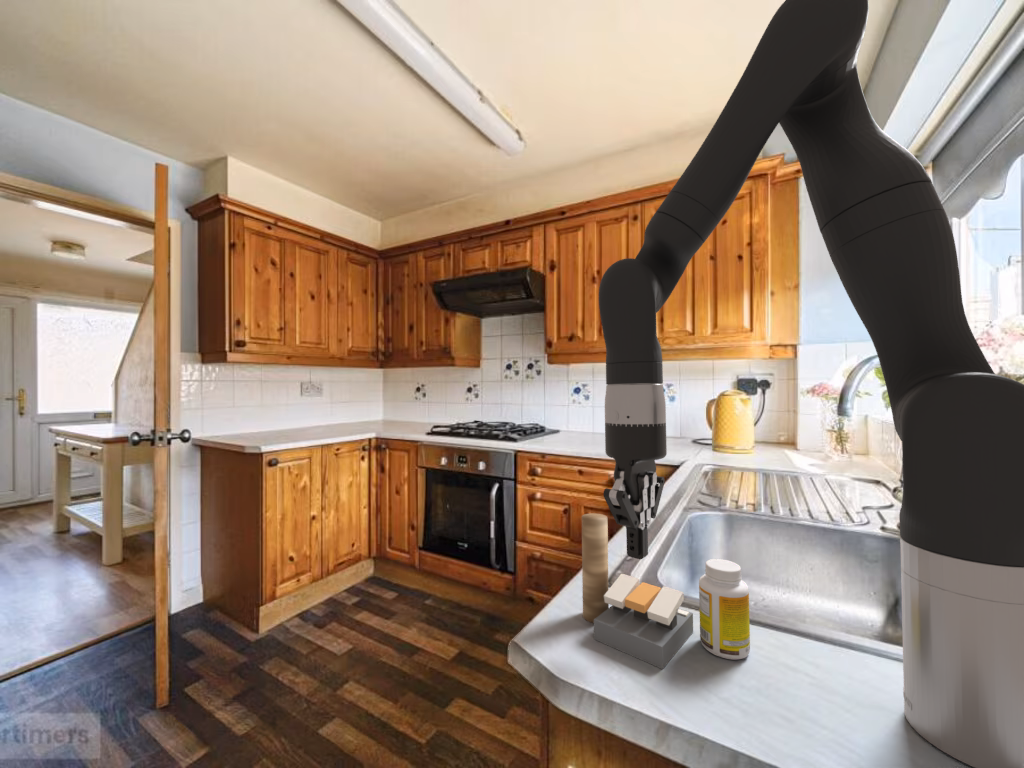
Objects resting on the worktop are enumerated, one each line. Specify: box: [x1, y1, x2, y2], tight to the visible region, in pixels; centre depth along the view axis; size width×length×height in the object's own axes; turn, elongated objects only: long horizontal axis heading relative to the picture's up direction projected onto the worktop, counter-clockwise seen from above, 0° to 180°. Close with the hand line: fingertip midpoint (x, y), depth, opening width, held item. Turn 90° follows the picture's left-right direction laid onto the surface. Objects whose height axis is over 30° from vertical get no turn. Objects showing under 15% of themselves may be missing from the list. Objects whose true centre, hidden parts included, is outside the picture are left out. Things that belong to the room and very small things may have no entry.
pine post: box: [581, 513, 610, 624], centre depth 61 cm, size 4×4×14 cm
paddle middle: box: [625, 581, 662, 613], centre depth 56 cm, size 3×5×1 cm, turn 138°
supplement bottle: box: [698, 558, 751, 661], centre depth 53 cm, size 6×6×10 cm
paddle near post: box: [604, 573, 641, 609], centre depth 58 cm, size 3×5×1 cm, turn 138°
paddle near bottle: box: [647, 585, 685, 626], centre depth 54 cm, size 3×5×2 cm, turn 138°
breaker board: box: [593, 605, 694, 670], centre depth 56 cm, size 9×10×4 cm
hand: (637, 556), depth 54 cm, fingers closed
